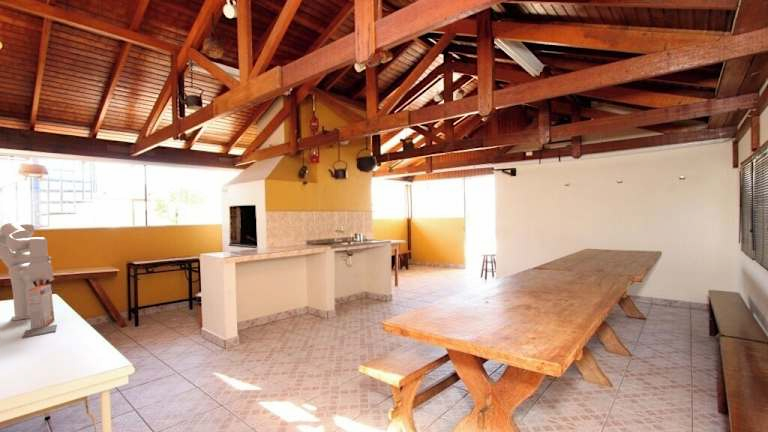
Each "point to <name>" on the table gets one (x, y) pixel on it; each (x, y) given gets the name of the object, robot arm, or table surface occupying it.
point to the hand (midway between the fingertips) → (42, 292)
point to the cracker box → (40, 306)
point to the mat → (39, 331)
